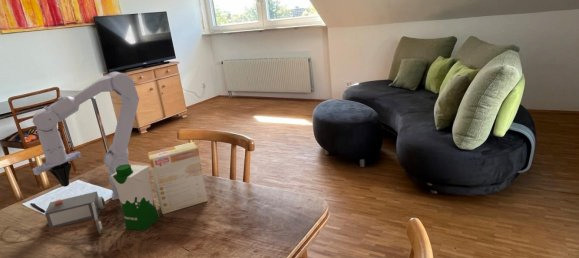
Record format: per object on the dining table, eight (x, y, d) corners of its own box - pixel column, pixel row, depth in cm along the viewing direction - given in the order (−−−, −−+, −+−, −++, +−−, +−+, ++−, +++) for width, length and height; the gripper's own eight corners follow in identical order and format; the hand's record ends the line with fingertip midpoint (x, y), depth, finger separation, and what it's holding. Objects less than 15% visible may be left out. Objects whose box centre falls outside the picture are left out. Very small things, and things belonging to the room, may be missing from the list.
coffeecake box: (203, 193, 129) (193, 141, 123) (208, 201, 123) (198, 147, 117) (159, 205, 123) (147, 151, 117) (162, 215, 117) (149, 158, 111)
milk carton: (121, 230, 111) (104, 169, 104) (141, 214, 119) (127, 157, 112) (145, 233, 108) (129, 171, 101) (164, 216, 116) (150, 158, 109)
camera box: (106, 204, 128) (102, 187, 126) (105, 214, 120) (100, 197, 118) (55, 216, 122) (49, 200, 120) (50, 229, 115) (44, 211, 113)
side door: (94, 216, 119) (90, 203, 118) (99, 215, 120) (95, 201, 118) (98, 234, 109) (94, 220, 107) (103, 232, 109) (99, 218, 108)
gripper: (67, 138, 125) (78, 174, 129) (22, 154, 113) (35, 193, 117) (80, 140, 122) (91, 177, 126) (35, 157, 110) (48, 197, 114)
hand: (65, 185), depth 121 cm, fingers closed
